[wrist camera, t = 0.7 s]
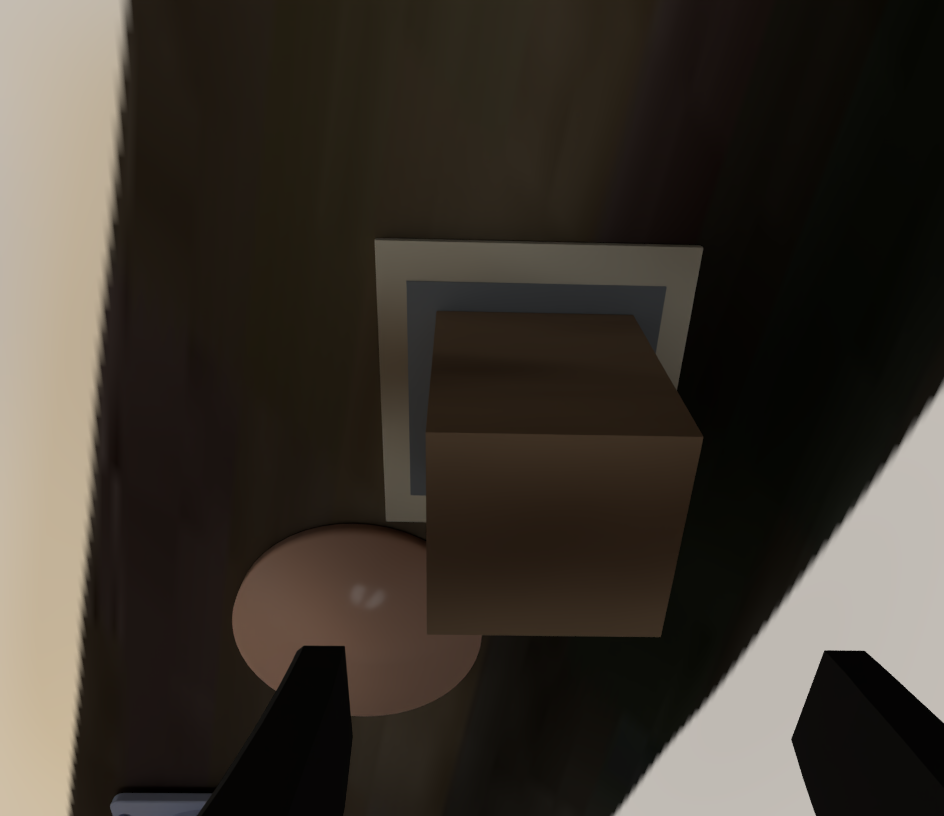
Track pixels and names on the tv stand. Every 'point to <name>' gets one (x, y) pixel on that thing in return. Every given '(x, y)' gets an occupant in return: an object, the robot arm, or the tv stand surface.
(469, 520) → the walnut block
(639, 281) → the board
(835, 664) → the robot arm
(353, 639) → the coaster
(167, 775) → the tv stand surface
